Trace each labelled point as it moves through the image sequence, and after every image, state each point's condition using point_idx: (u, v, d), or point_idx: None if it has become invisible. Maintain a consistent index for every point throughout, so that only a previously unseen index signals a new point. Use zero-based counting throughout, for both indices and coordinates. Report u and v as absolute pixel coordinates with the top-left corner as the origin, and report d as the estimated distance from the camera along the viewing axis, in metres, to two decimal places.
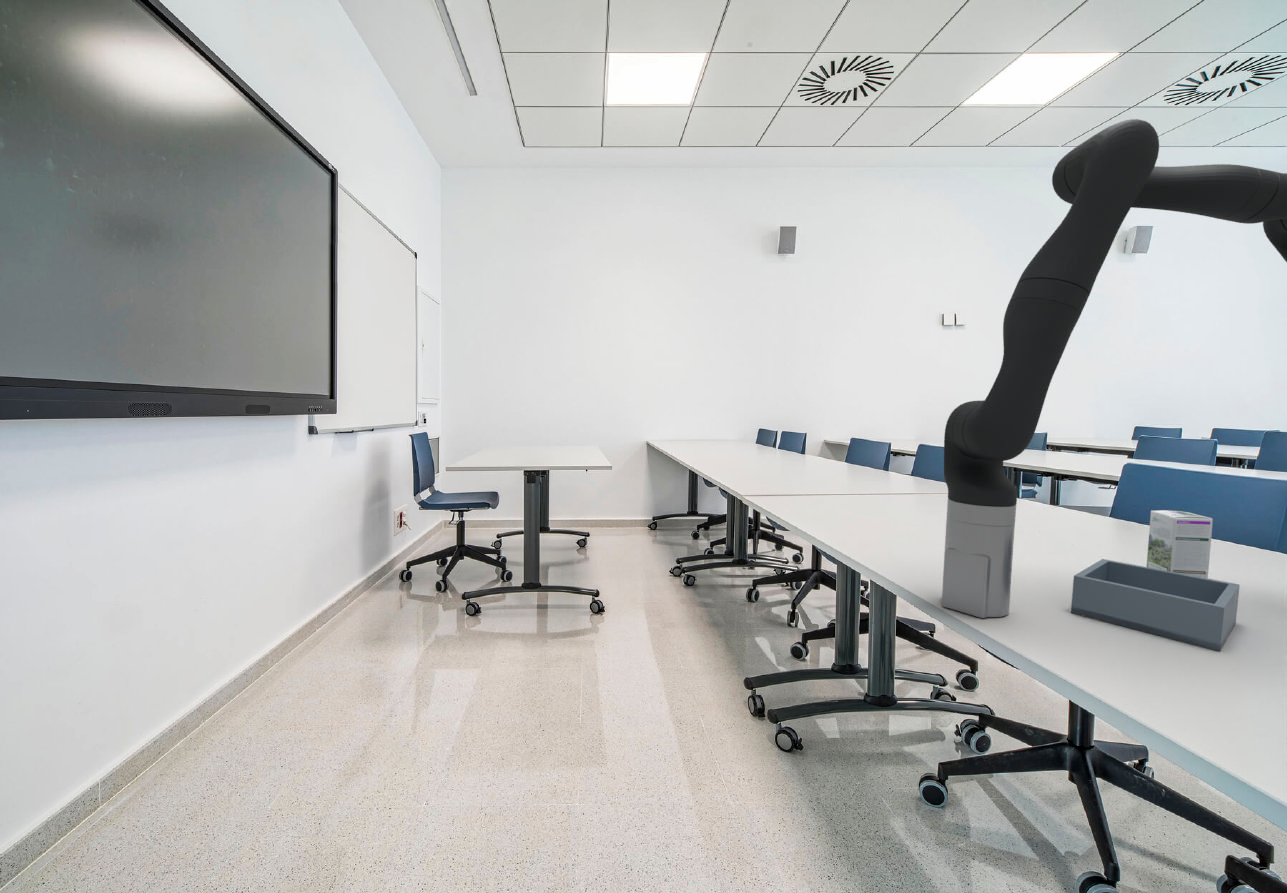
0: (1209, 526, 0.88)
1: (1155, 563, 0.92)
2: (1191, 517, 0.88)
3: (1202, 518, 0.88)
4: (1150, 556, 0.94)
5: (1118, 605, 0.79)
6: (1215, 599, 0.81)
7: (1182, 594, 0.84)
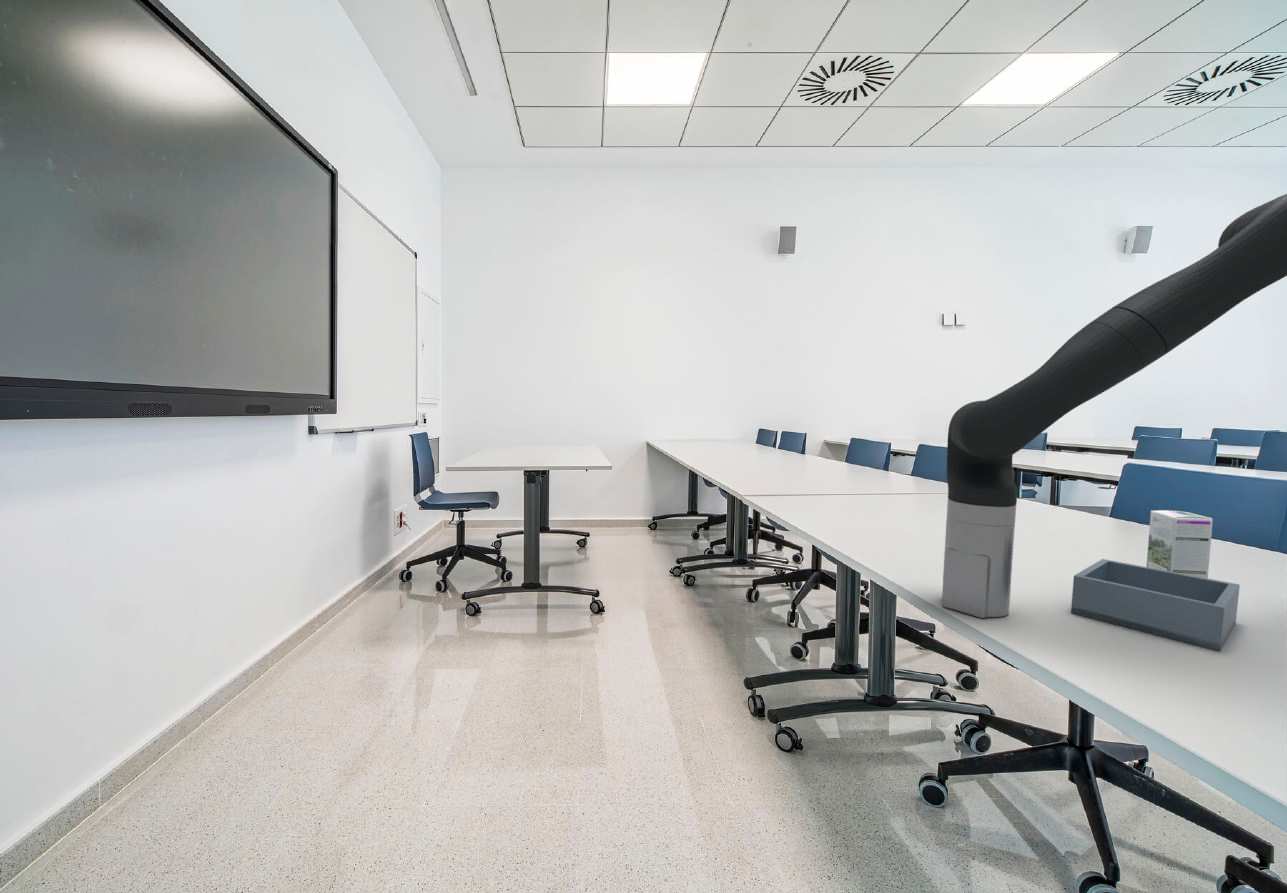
0: (1209, 526, 0.88)
1: (1155, 563, 0.92)
2: (1191, 517, 0.88)
3: (1202, 518, 0.88)
4: (1150, 556, 0.94)
5: (1118, 605, 0.79)
6: (1215, 599, 0.81)
7: (1182, 594, 0.84)
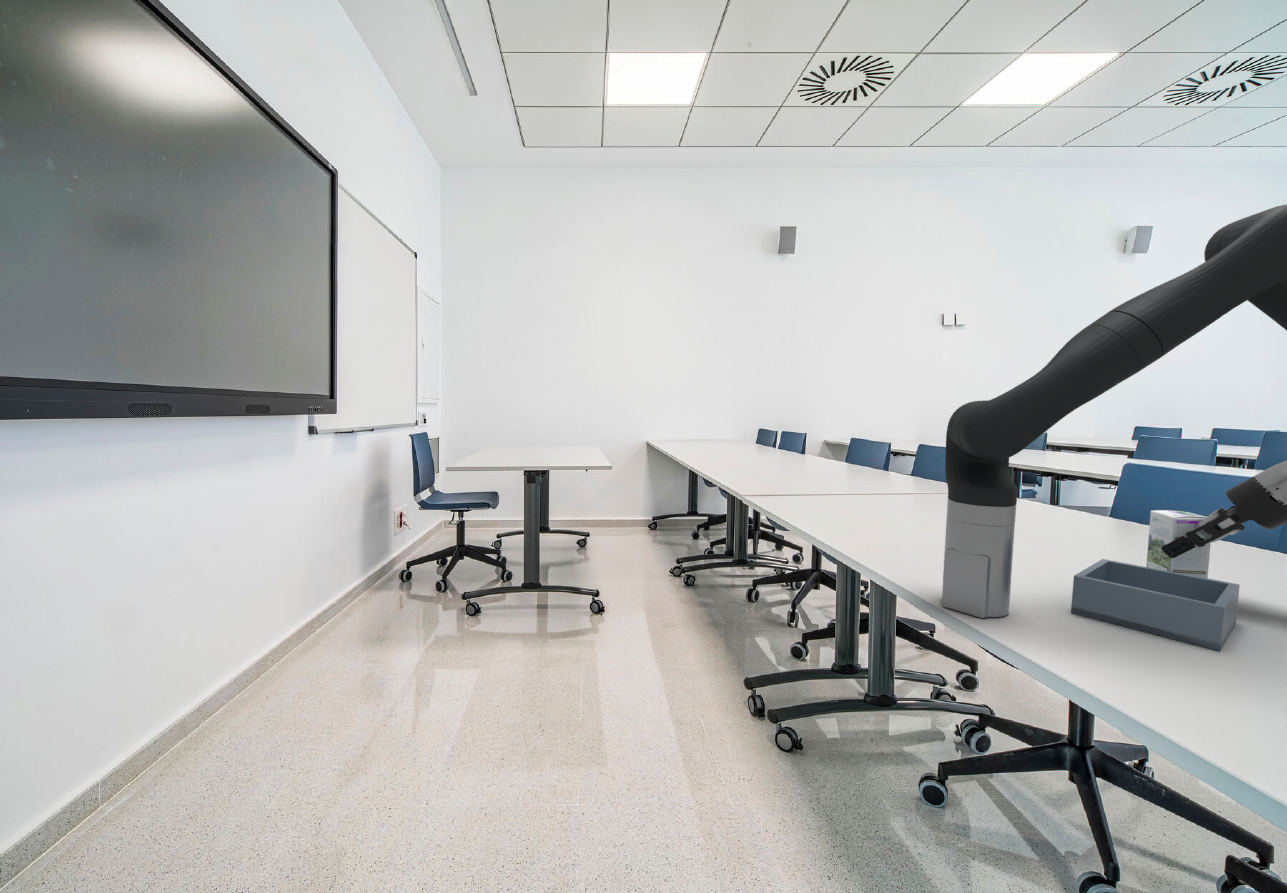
0: None
1: (1155, 563, 0.92)
2: (1191, 517, 0.88)
3: (1202, 518, 0.88)
4: (1150, 556, 0.94)
5: (1118, 605, 0.79)
6: (1215, 599, 0.81)
7: (1182, 594, 0.84)
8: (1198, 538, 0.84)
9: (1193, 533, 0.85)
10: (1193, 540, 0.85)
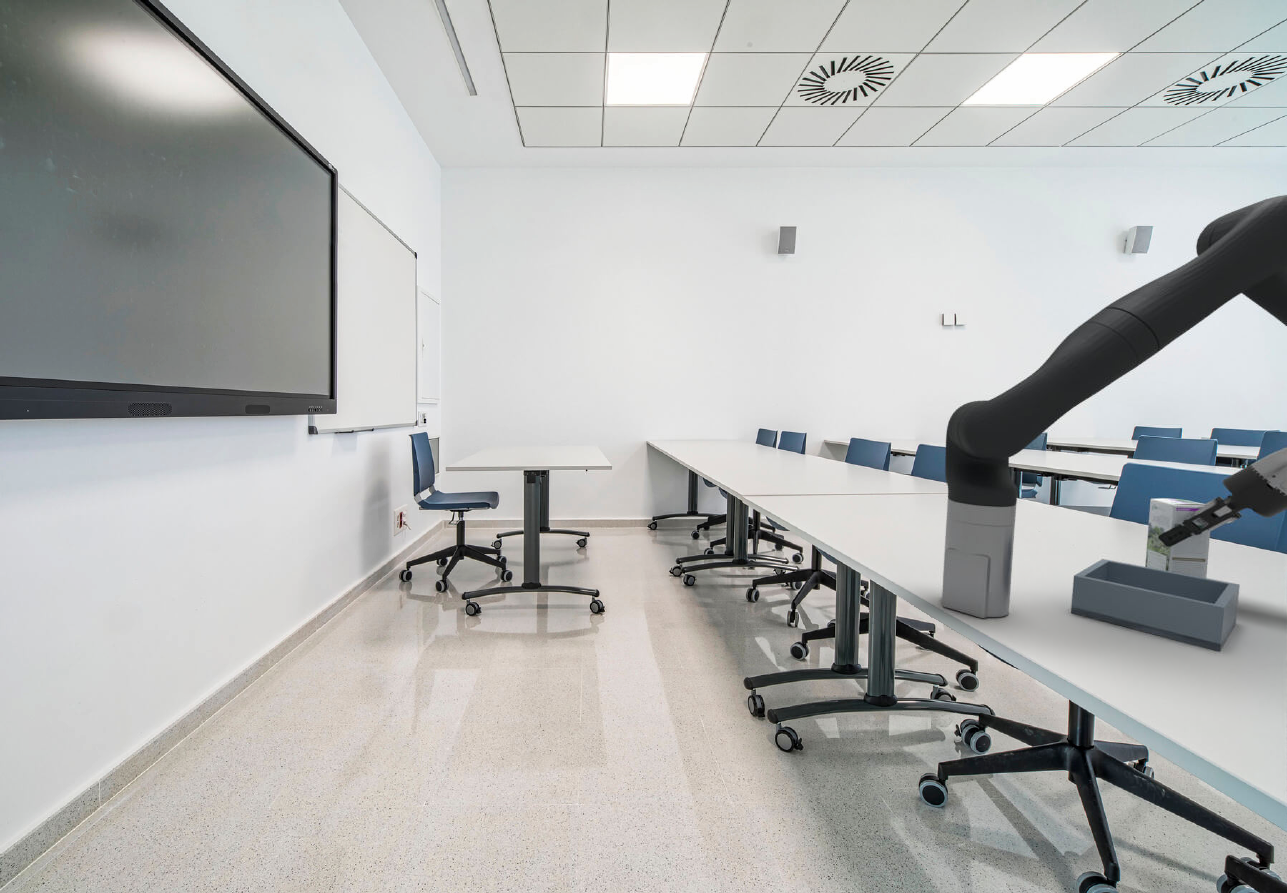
0: None
1: (1154, 551, 0.92)
2: (1191, 504, 0.88)
3: (1202, 505, 0.88)
4: (1150, 544, 0.94)
5: (1118, 605, 0.79)
6: (1215, 599, 0.81)
7: (1182, 594, 0.84)
8: (1195, 526, 0.84)
9: (1190, 521, 0.85)
10: (1190, 528, 0.85)
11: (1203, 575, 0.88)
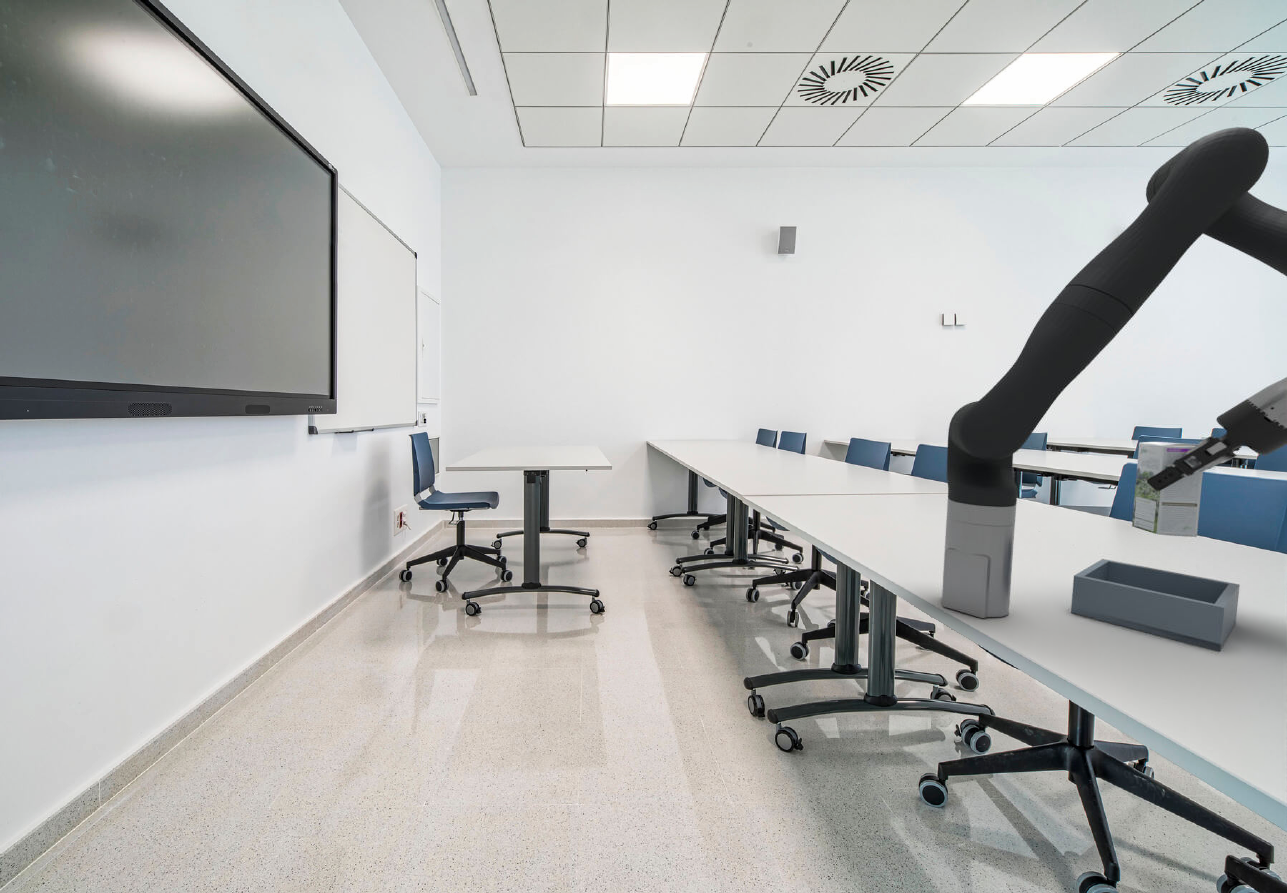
0: None
1: (1143, 498, 0.86)
2: (1182, 445, 0.82)
3: (1194, 445, 0.81)
4: (1138, 491, 0.87)
5: (1118, 605, 0.79)
6: (1215, 599, 0.81)
7: (1182, 594, 0.84)
8: (1187, 466, 0.78)
9: (1181, 461, 0.78)
10: (1181, 468, 0.78)
11: (1194, 522, 0.82)
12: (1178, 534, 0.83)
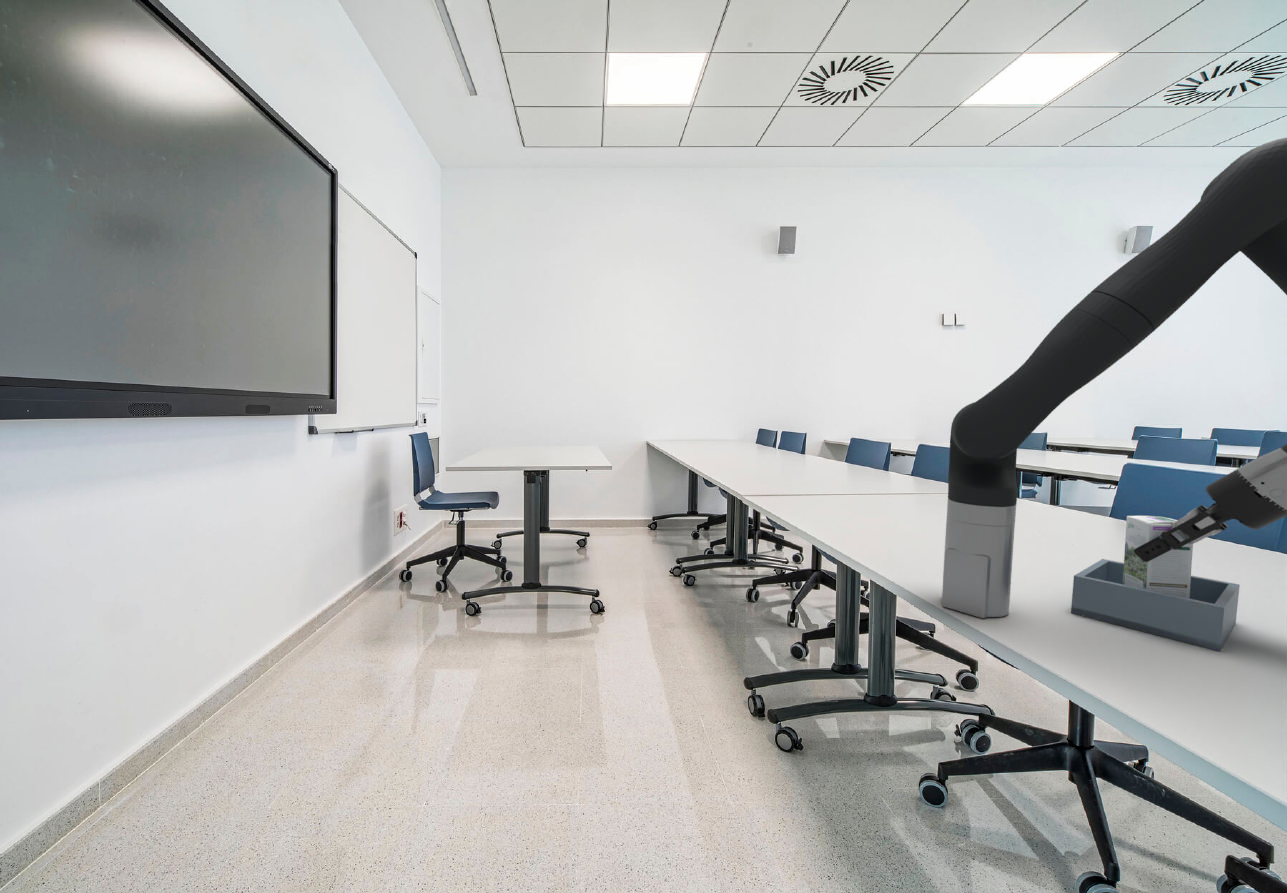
0: None
1: (1131, 575, 0.82)
2: (1169, 523, 0.78)
3: None
4: (1126, 567, 0.83)
5: (1118, 605, 0.79)
6: (1215, 599, 0.81)
7: None
8: (1174, 539, 0.74)
9: (1168, 534, 0.75)
10: (1168, 542, 0.75)
11: None
12: None
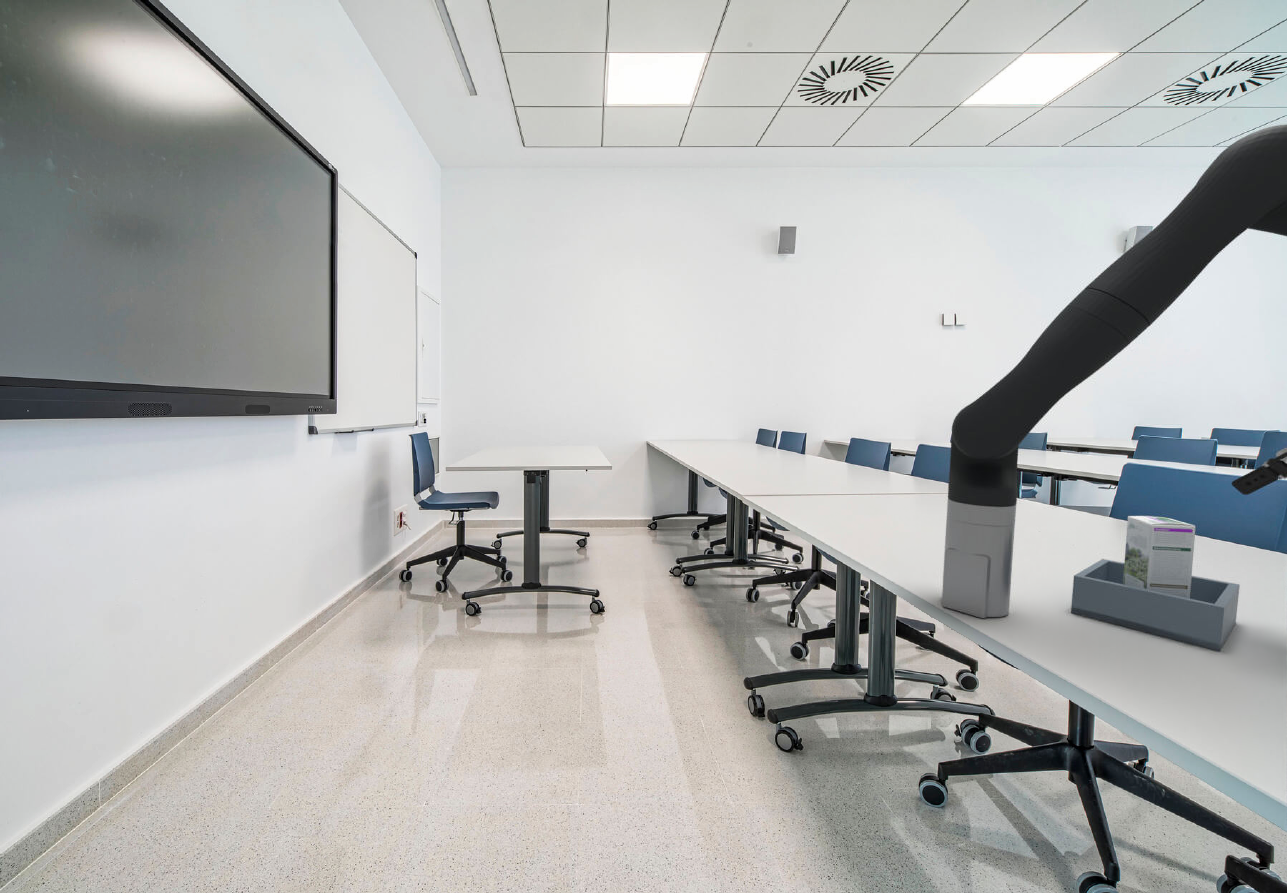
0: (1191, 534, 0.77)
1: (1132, 575, 0.82)
2: (1170, 524, 0.78)
3: (1183, 525, 0.77)
4: (1127, 567, 0.83)
5: (1118, 605, 0.79)
6: (1215, 599, 0.81)
7: None
8: (1284, 466, 0.67)
9: (1278, 460, 0.67)
10: (1277, 469, 0.67)
11: None
12: None
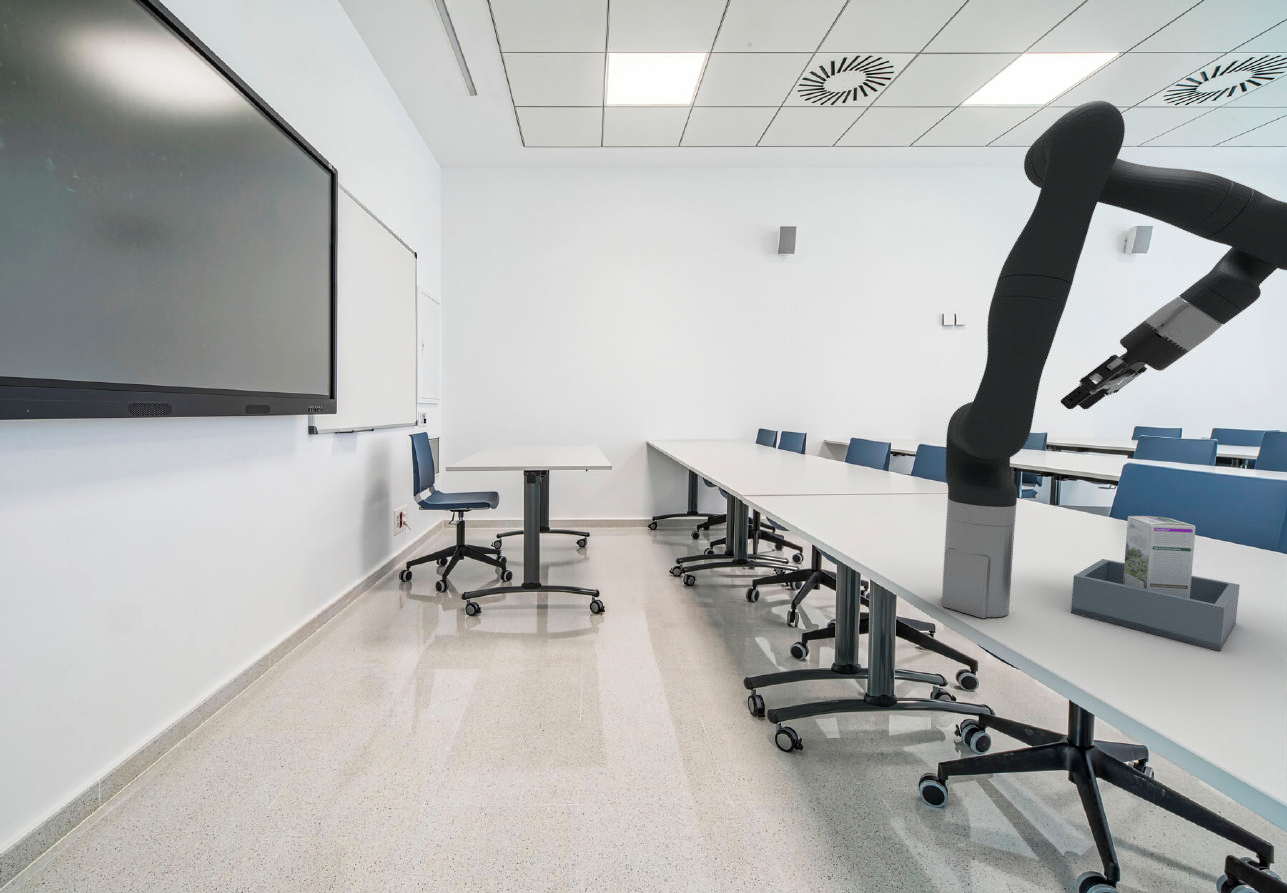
0: (1191, 534, 0.77)
1: (1132, 575, 0.82)
2: (1171, 524, 0.78)
3: (1183, 525, 0.77)
4: (1127, 567, 0.83)
5: (1118, 605, 0.79)
6: (1215, 599, 0.81)
7: None
8: (1091, 382, 0.86)
9: (1086, 378, 0.86)
10: (1086, 385, 0.86)
11: None
12: None
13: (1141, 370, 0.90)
